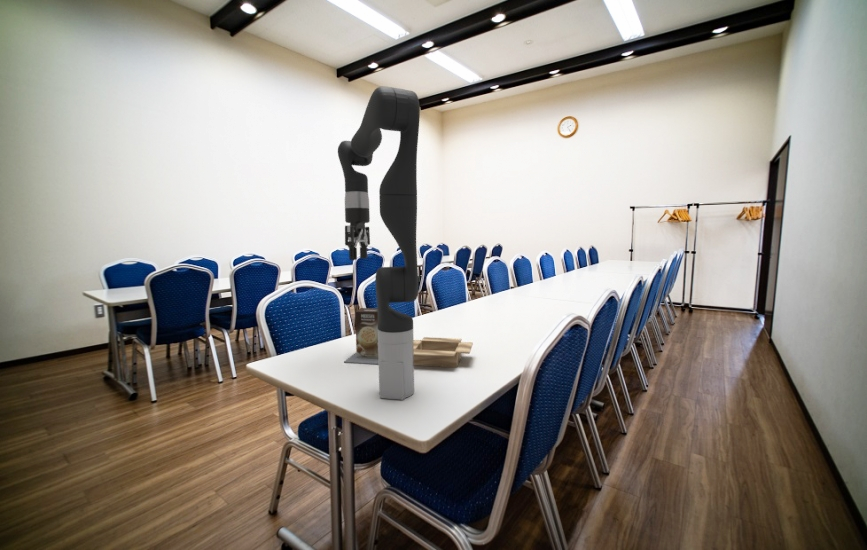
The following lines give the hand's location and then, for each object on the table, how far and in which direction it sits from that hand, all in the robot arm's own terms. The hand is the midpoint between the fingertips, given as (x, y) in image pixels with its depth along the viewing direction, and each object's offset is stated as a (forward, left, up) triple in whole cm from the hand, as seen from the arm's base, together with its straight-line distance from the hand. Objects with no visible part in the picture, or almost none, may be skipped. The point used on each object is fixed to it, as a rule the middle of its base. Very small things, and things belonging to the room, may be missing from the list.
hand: (358, 259), depth 117 cm
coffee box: (+7, -1, -34) cm, 35 cm away
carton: (+7, -24, -34) cm, 42 cm away
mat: (+7, -1, -34) cm, 35 cm away
